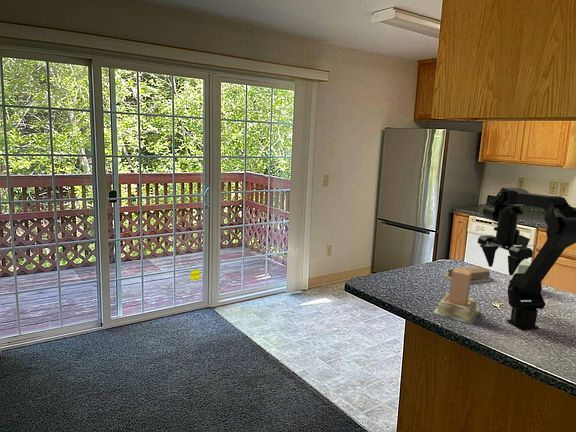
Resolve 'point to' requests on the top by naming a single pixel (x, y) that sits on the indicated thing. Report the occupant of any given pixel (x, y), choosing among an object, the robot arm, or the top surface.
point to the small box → (521, 268)
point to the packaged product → (473, 274)
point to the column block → (460, 286)
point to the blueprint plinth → (457, 310)
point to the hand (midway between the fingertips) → (500, 270)
